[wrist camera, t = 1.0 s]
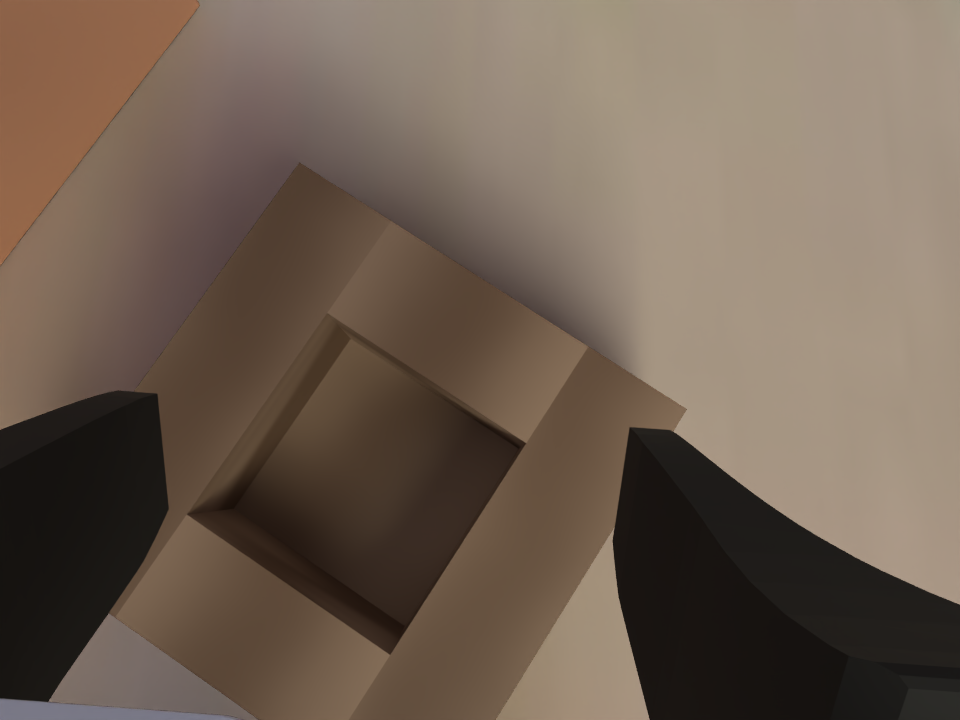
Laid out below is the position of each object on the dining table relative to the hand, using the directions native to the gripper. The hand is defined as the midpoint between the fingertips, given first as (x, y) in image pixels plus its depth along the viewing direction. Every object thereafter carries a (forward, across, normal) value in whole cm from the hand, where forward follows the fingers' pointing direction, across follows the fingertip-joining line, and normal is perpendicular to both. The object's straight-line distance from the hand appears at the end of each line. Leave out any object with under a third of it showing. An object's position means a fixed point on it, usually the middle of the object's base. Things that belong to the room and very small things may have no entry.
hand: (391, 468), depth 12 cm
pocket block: (+9, +1, +6) cm, 11 cm away
